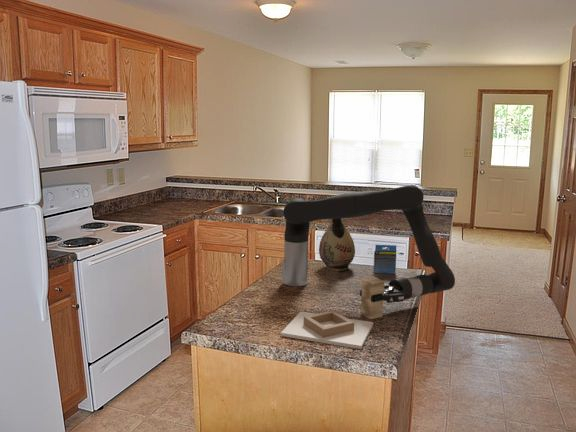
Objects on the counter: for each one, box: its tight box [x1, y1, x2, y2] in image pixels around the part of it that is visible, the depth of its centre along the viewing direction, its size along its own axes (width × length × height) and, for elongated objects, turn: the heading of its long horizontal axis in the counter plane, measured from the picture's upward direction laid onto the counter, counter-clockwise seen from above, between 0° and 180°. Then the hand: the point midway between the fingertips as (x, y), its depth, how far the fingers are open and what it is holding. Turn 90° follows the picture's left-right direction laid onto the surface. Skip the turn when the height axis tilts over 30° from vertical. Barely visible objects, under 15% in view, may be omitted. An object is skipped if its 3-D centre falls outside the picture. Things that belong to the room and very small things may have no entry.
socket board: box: [280, 310, 374, 350], centre depth 153 cm, size 24×18×4 cm
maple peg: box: [360, 276, 385, 320], centre depth 164 cm, size 5×5×12 cm
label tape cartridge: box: [372, 244, 397, 275], centre depth 212 cm, size 9×4×12 cm, turn 85°
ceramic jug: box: [318, 218, 356, 272], centre depth 214 cm, size 17×15×30 cm
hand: (366, 296), depth 163 cm, fingers closed on maple peg, 5 cm apart
